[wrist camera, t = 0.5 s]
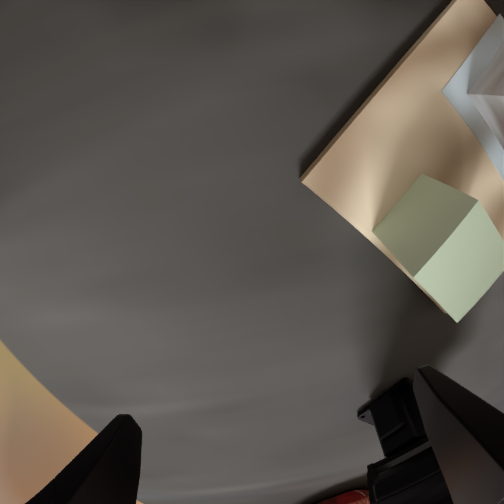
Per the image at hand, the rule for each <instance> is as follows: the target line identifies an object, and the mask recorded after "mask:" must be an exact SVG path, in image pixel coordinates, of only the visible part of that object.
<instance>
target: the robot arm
mask: <svg viewBox="0 0 504 504" xmlns="http://www.w3.org/2000/svg"><path fill="white" fill-rule="evenodd" d="M357 416H358V419H359V420H361V421H364V422H366V423H369V424H371V425H374V426H375V428H376V432H377V435H378V438H379V440H380V443H381V447H382V450H383V453H384V456H385V458H384V459H382V460H380V461H378V462H376V463H374V464H373V463H372V464H370V465H368V466H367V468H368V473H367V478H368V490H369V504H504V413H502V412H501V411H499V410H498V409H496V408H495V407H493V406H492V405H490V404H489V403H487V402H486V401H484V400H482V399H481V398H479V397H478V396H476V395H475V394H473V393H472V392H470V391H469V390H467V389H466V388H464V387H463V386H461V385H460V384H458V383H457V382H455V381H454V380H452V379H451V378H449V377H448V376H446V375H444V374H443V373H441V372H440V371H438V370H437V369H435V368H434V367H432V366H431V365H428V364H427V365H423V366H420V367H418V368H416V370H415V376H414V382H413V381H412V380H410V379H408V378H404V379H402V380H401V381H400V382H399V383H397V384H396V385H395V386H394V387H392V388H391V389H390V390H389V391H387V392H386V393H385V394H384V395H382V396H381V397H380V398H378V399H377V400H376V401H374V402H373V403H372V404H370V405H369V406H368V407H366V408H365V409H364V410H362V411H361V412H359V413H358V415H357ZM141 447H142V431H141V428H140V427H139V425H138V424H137V423H136V422H135V420H134V419H133V418H132V416H131V415H129V414H119V415H117V416H116V417H115V418H114V419H113V420H112V421H111V422H110V423H109V424H108V425H107V426H106V427H105V428H104V429H103V430H102V431H101V432H100V433H99V434H98V435H97V436H96V437H95V438H94V439H93V440H92V441H91V442H90V443H89V444H88V445H87V446H86V447H85V448H84V449H83V450H82V451H81V452H80V453H79V454H78V455H77V456H76V457H75V458H74V459H73V460H72V461H71V462H70V463H69V464H68V465H67V466H66V467H65V468H64V469H63V470H62V471H61V472H60V473H59V474H58V475H57V476H56V477H55V479H53V480H52V481H50V483H48V484H47V485H46V486H45V487H44V488H43V489H42V490H41V491H40V492H39V493H37V494H36V495H35V496H34V497H33V498H31V499H30V500H29V501H28V502H26V503H25V504H136V499H137V492H138V485H139V478H140V469H141Z"/></svg>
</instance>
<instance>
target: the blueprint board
mask: <svg viewBox="0 0 504 504" xmlns="http://www.w3.org/2000/svg"><path fill="white" fill-rule="evenodd" d="M421 174H424V175H426V176H429V177H431V178H433V179H435V180H438V181H440V182H442V183H444V184H446V185H449V186H451V187H453V188H455V189H457V190H459V191H461V192H463V193H465V194H467V195H469V196H471V197H473V198H475V199H477V200H479V202H480V203H481V205H482V206H483V208H484V209H485V211H486V212H487V214H488V216H489V217H490V219H491V221H492V222H493V224H494V225H495V227H496V229H497V231H498V232H499V234H500V236H501V237H502V239H503V241H504V18H503V17H502V16H501V14H499V15H498V16H496V15H495V13H494V12H493V11H492V10H491V8H490V7H489V6H488V5H487V4H486V2H485V1H484V0H452V1H451V2H450V4H449V5H448V6H447V7H446V8H445V9H444V10H443V11H442V13H441V14H440V15H439V16H438V17H437V18H436V19H435V21H434V22H433V23H432V24H431V25H430V26H429V27H428V29H427V30H426V31H425V32H424V33H423V34H422V35H421V37H420V38H419V39H418V40H417V41H416V42H415V44H414V45H413V46H412V47H411V48H410V49H409V50H408V52H407V53H406V54H405V55H404V56H403V57H402V59H401V60H400V61H399V62H398V63H397V64H396V65H395V67H394V68H393V69H392V70H391V71H390V72H389V74H388V75H387V76H386V77H385V78H384V79H383V81H382V82H381V83H380V84H379V85H378V86H377V88H376V89H375V90H374V91H373V92H372V93H371V95H370V96H369V97H368V98H367V99H366V100H365V102H364V103H363V104H362V105H361V106H360V107H359V109H358V110H357V111H356V112H355V113H354V114H353V116H352V117H351V118H350V119H349V120H348V121H347V123H346V124H345V125H344V126H343V127H342V129H341V130H340V131H339V132H338V133H337V134H336V136H335V137H334V138H333V139H332V140H331V142H330V143H329V144H328V145H327V146H326V147H325V149H324V150H323V151H322V152H321V153H320V155H319V156H318V157H317V158H316V159H315V160H314V162H313V163H312V164H311V165H310V166H309V168H308V169H307V170H306V171H305V172H304V174H303V175H302V176H301V177H300V178H299V179H300V180H301V182H302V183H303V184H305V185H306V186H307V187H308V188H310V189H311V190H312V191H313V192H314V193H316V194H317V195H318V196H319V197H320V198H322V199H323V200H324V201H325V202H326V203H328V204H329V205H330V206H331V207H332V208H333V209H335V210H336V211H337V212H338V213H339V214H340V215H342V216H343V217H344V218H345V219H346V220H347V221H348V222H350V223H351V224H352V225H353V226H354V227H355V228H356V229H358V230H359V231H360V232H361V233H362V234H363V235H364V236H365V237H366V238H368V239H369V240H370V241H371V242H372V243H373V244H374V245H375V246H376V247H377V248H379V249H380V250H381V251H382V252H383V253H384V254H385V255H386V256H387V257H388V258H389V259H390V260H391V261H393V262H394V263H395V264H396V265H397V266H398V267H399V268H400V269H401V270H402V271H403V272H404V273H405V274H406V275H407V276H408V277H409V278H410V279H411V280H412V281H413V282H414V283H415V284H416V285H417V286H418V287H419V288H420V289H421V290H422V291H423V292H424V293H425V294H426V295H427V296H428V297H429V298H430V299H431V300H432V301H433V302H434V303H435V304H436V305H437V306H438V307H439V308H440V309H441V310H442V311H443V312H444V313H445V314H446V313H447V312H446V311H445V310H444V309H443V308H442V307H441V306H440V305H439V303H438V302H437V301H436V300H435V299H434V298H433V297H432V296H431V295H430V294H429V293H428V292H427V291H426V290H425V289H424V288H423V287H422V286H421V285H420V284H419V283H418V282H417V281H416V280H415V279H414V278H413V277H412V276H411V275H410V274H409V272H408V271H407V270H406V269H405V268H404V267H403V265H402V264H401V263H400V262H399V261H398V260H397V259H396V258H395V256H394V255H393V254H392V253H391V252H390V251H389V250H388V249H387V248H386V247H385V245H384V244H383V243H382V242H381V241H380V240H379V239H378V238H377V237H376V236H375V235H374V234H373V232H372V231H373V230H374V229H375V228H376V227H377V226H378V224H379V223H380V222H381V221H382V220H383V219H384V218H385V216H386V215H387V214H388V213H389V212H390V211H391V210H392V208H393V207H394V206H395V205H396V204H397V203H398V201H399V200H400V199H401V198H402V197H403V195H404V194H405V193H406V192H407V191H408V190H409V188H410V187H411V186H412V185H413V184H414V182H415V181H416V180H417V179H418V177H419V176H420V175H421Z"/></svg>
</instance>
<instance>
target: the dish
mask: <svg viewBox="0 0 504 504" xmlns="http://www.w3.org/2000/svg"><path fill="white" fill-rule="evenodd" d="M316 504H369V490H353V491H349V492H346V493H343V494H340V495H338V496H335V497H332V498H329V499H326V500H324V501H321V502H319V503H316Z"/></svg>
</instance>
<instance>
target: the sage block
mask: <svg viewBox="0 0 504 504" xmlns="http://www.w3.org/2000/svg"><path fill="white" fill-rule="evenodd" d="M372 232H373V234H374V235H375V236H376V237H377V238H378V239H379V240H380V241H381V242H382V243H383V244H384V245H385V247H386V248H387V249H388V250H389V251H390V252H391V253H392V254H393V255H394V256H395V258H396V259H397V260H398V261H399V262H400V263H401V264H402V265H403V267H404V268H405V269H406V270H407V271H408V272H409V274H410V275H411V276H412V277H413V278H414V279H415V280H416V281H417V282H418V283H419V284H420V285H421V286H422V287H423V288H424V289H425V290H426V291H427V292H428V293H429V294H430V295H431V296H432V297H433V298H434V299H435V300H436V301H437V302H438V303H439V305H440V306H441V307H442V308H443V309H444V310H445V311H446V312H447V313H448V314H449V315H450V316H451V317H452V318H453V319H454V320H455V321H456V323H458V322H459V321H460V320H461V319H462V318H463V317H464V316H465V315H466V313H467V312H468V311H469V310H470V309H471V308H472V307H473V306H474V305H475V304H476V303H477V301H478V300H479V299H480V298H481V297H482V296H483V295H484V294H485V292H486V291H487V290H488V289H489V288H490V287H491V285H492V284H493V283H494V282H495V281H496V279H497V278H498V277H499V276H500V275H501V273H502V272H503V271H504V241H503V239H502V237H501V236H500V234H499V232H498V231H497V229H496V227H495V225H494V224H493V222H492V221H491V219H490V217H489V216H488V214H487V212H486V211H485V209H484V208H483V206H482V205H481V203H480V202H479V200H477V199H475V198H473V197H471V196H469V195H467V194H465V193H463V192H461V191H459V190H457V189H455V188H453V187H451V186H449V185H446V184H444V183H442V182H440V181H438V180H435V179H433V178H431V177H429V176H426V175H424V174H421V175H420V176H419V177H418V179H417V180H416V181H415V182H414V184H413V185H412V186H411V187H410V188H409V190H408V191H407V192H406V193H405V194H404V195H403V197H402V198H401V199H400V200H399V201H398V203H397V204H396V205H395V206H394V207H393V208H392V210H391V211H390V212H389V213H388V214H387V215H386V216H385V218H384V219H383V220H382V221H381V222H380V223H379V224H378V226H377V227H376V228H375V229H374V230H373V231H372Z"/></svg>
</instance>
